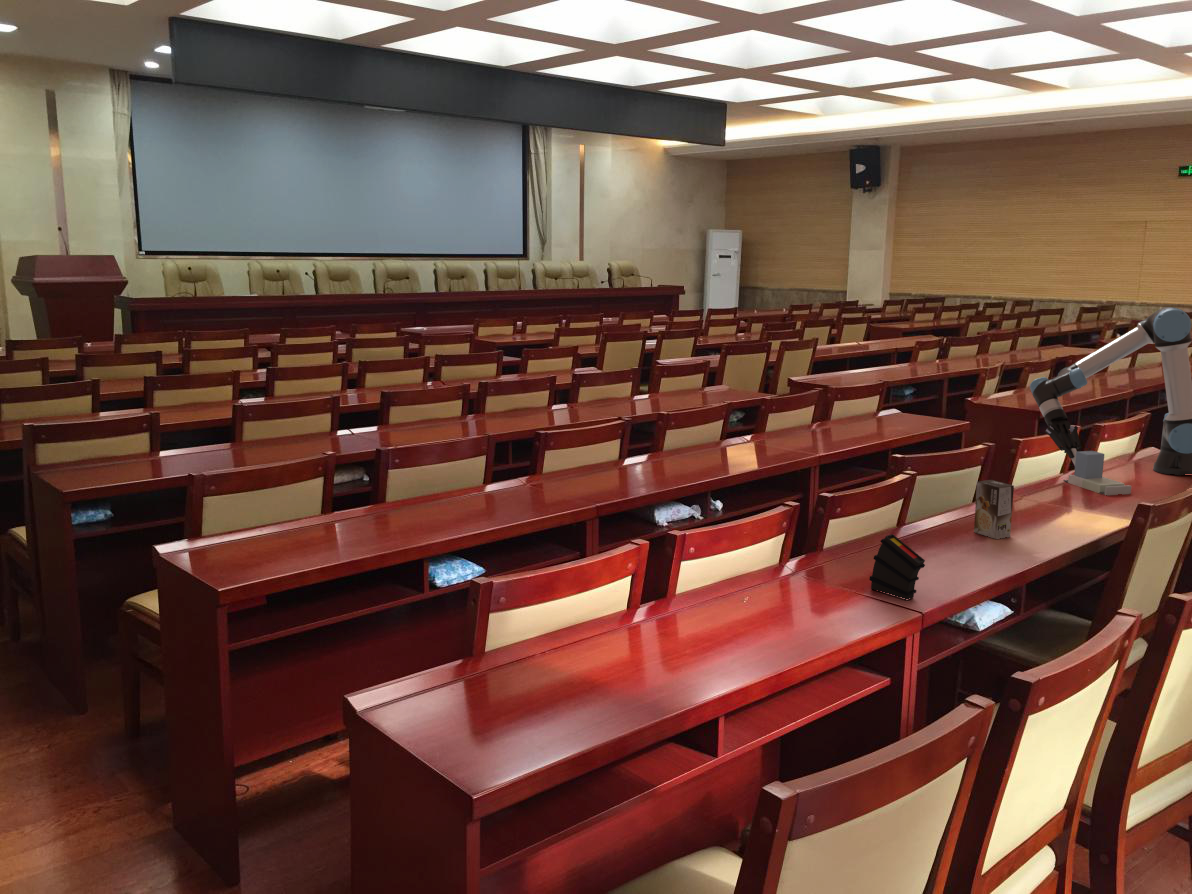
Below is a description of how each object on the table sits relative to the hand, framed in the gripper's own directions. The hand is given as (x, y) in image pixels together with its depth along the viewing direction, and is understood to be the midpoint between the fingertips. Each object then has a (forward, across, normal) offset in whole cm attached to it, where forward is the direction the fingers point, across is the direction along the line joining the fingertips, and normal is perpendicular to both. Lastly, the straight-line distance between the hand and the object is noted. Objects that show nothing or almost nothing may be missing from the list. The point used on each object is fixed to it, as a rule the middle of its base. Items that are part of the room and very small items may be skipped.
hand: (1078, 464), depth 358 cm
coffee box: (+43, +72, +34) cm, 91 cm away
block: (+6, 0, +1) cm, 6 cm away
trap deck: (+11, 0, +2) cm, 11 cm away
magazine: (+73, +126, +64) cm, 160 cm away
